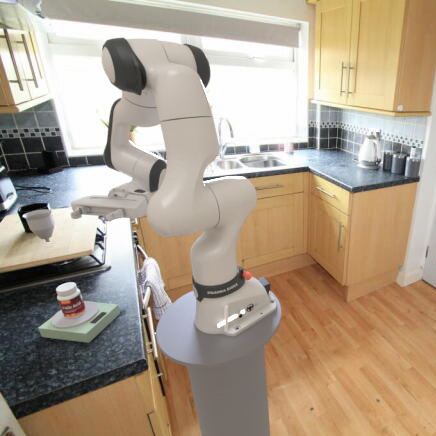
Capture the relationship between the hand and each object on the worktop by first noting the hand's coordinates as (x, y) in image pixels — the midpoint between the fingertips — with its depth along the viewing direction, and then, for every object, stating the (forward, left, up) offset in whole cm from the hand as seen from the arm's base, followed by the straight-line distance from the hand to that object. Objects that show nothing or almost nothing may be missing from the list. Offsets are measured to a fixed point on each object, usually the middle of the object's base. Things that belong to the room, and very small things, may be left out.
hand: (89, 217), depth 85 cm
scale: (+8, +9, -26) cm, 28 cm away
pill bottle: (+9, +8, -22) cm, 25 cm away
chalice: (+13, -34, -26) cm, 45 cm away
